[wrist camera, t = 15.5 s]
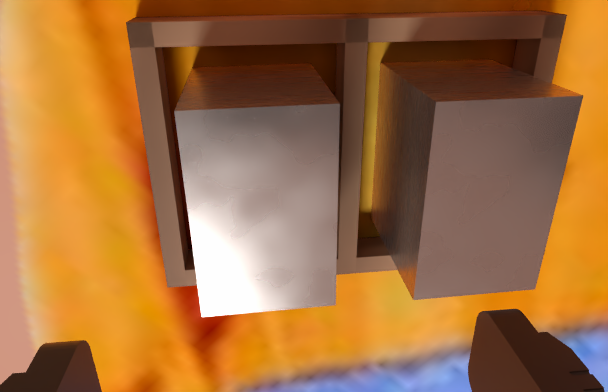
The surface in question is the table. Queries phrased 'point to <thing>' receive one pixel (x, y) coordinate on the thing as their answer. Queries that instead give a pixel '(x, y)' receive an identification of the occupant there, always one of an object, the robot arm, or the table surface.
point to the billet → (260, 186)
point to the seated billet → (468, 173)
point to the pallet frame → (349, 92)
